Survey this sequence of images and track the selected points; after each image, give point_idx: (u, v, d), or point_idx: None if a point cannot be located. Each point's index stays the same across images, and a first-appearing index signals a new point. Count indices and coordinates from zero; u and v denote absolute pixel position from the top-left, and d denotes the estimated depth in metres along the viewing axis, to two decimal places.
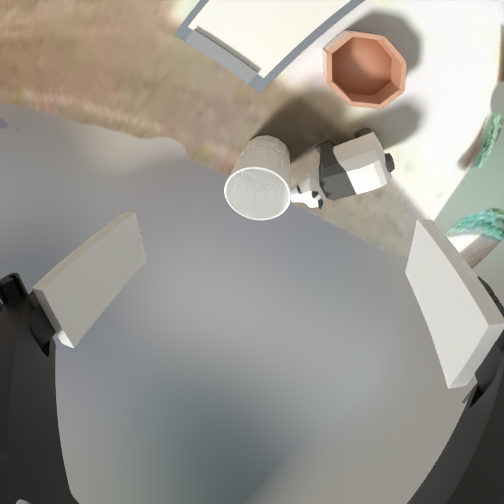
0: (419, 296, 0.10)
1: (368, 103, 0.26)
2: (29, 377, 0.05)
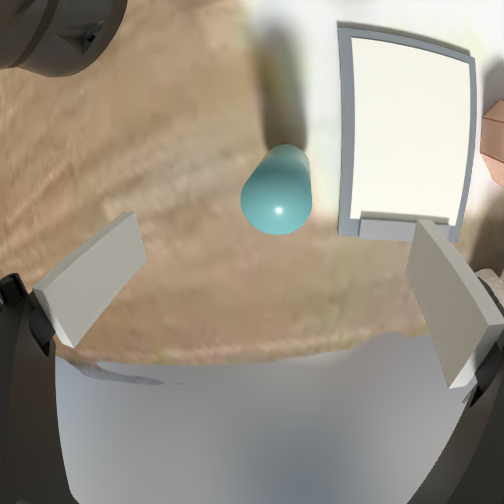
0: (418, 297, 0.10)
1: None
2: (29, 377, 0.05)
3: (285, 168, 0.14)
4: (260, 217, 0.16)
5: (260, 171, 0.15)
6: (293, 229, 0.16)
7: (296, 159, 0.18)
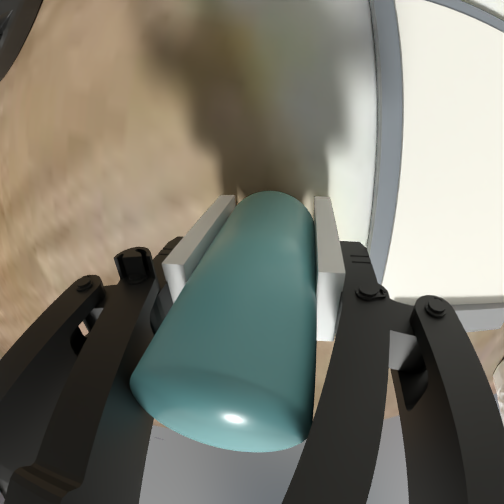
0: None
1: None
2: None
3: (234, 365, 0.04)
4: (187, 428, 0.06)
5: (158, 365, 0.04)
6: (263, 450, 0.06)
7: (285, 260, 0.07)
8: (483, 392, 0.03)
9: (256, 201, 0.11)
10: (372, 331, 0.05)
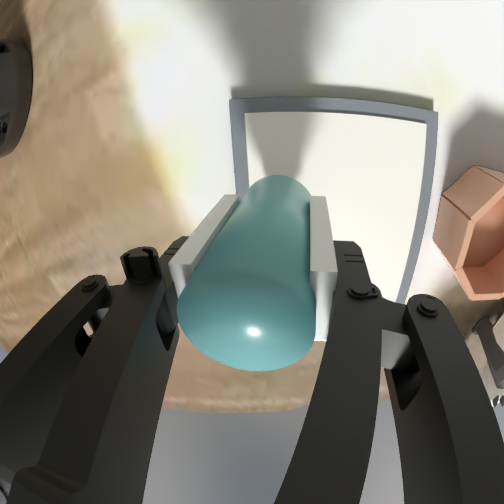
0: None
1: None
2: (140, 381, 0.06)
3: (261, 268, 0.07)
4: (218, 346, 0.08)
5: (207, 274, 0.07)
6: (278, 366, 0.08)
7: (291, 218, 0.10)
8: (478, 391, 0.03)
9: (267, 182, 0.13)
10: (364, 330, 0.06)
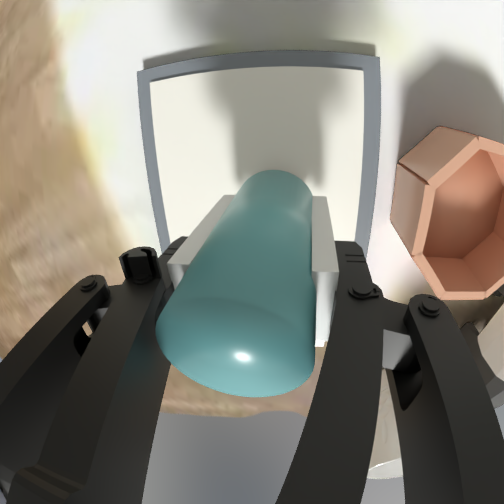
0: None
1: None
2: (139, 381, 0.06)
3: (247, 295, 0.06)
4: (205, 373, 0.07)
5: (184, 301, 0.06)
6: (273, 393, 0.07)
7: (287, 223, 0.09)
8: (479, 391, 0.03)
9: (260, 178, 0.12)
10: (366, 330, 0.06)
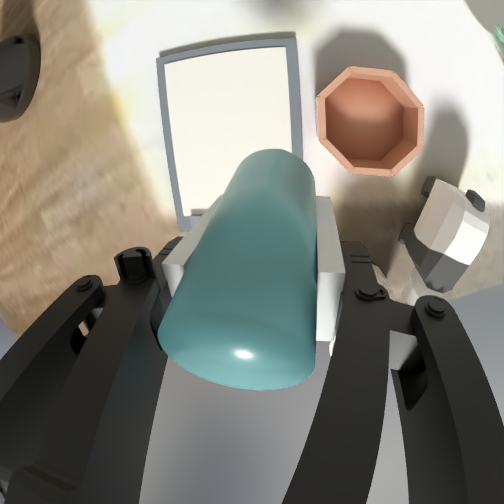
0: None
1: (406, 155, 0.20)
2: (135, 380, 0.06)
3: (247, 308, 0.05)
4: (208, 371, 0.07)
5: (184, 313, 0.06)
6: (275, 387, 0.07)
7: (286, 215, 0.08)
8: (484, 392, 0.03)
9: (258, 159, 0.11)
10: (372, 331, 0.05)
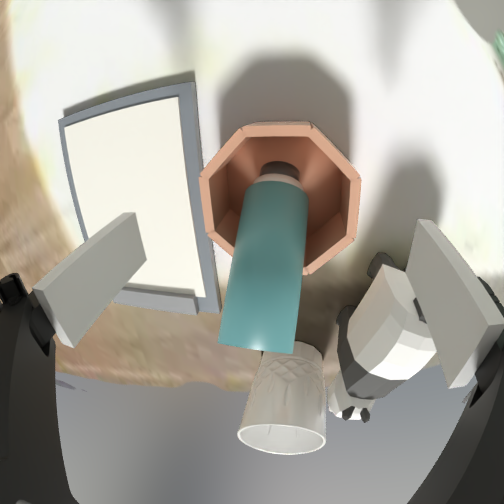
0: (419, 296, 0.10)
1: (330, 248, 0.17)
2: (29, 377, 0.05)
3: (253, 344, 0.12)
4: None
5: (227, 344, 0.13)
6: None
7: (275, 271, 0.14)
8: None
9: (257, 201, 0.15)
10: None
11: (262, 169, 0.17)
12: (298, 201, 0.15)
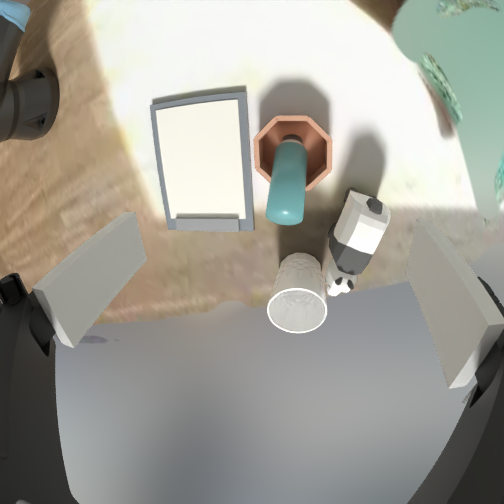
0: (419, 296, 0.10)
1: (319, 176, 0.32)
2: (29, 377, 0.05)
3: (285, 206, 0.28)
4: (278, 221, 0.31)
5: (272, 208, 0.28)
6: (296, 223, 0.31)
7: (293, 177, 0.29)
8: None
9: (283, 150, 0.30)
10: None
11: (283, 138, 0.32)
12: (302, 151, 0.31)
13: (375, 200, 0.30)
